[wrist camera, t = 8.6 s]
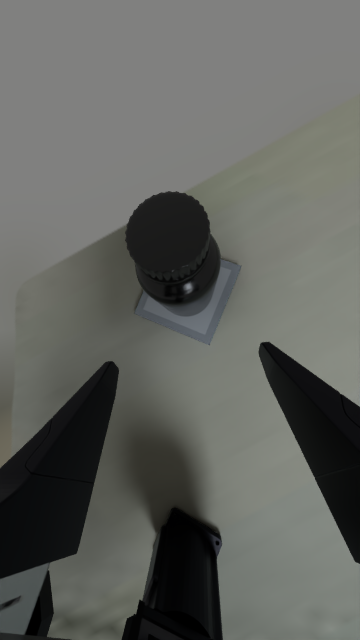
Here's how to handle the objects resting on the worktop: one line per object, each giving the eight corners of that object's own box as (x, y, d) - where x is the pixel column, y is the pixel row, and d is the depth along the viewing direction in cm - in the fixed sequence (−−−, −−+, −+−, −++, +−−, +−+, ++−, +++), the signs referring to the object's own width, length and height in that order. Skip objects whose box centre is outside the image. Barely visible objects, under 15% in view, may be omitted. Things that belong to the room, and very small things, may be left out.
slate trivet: (240, 268, 20) (241, 265, 19) (209, 344, 20) (209, 345, 19) (165, 244, 22) (164, 240, 21) (136, 314, 22) (133, 313, 21)
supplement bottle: (222, 280, 19) (257, 198, 8) (196, 326, 19) (192, 317, 8) (176, 258, 20) (143, 156, 9) (152, 302, 20) (86, 261, 9)
